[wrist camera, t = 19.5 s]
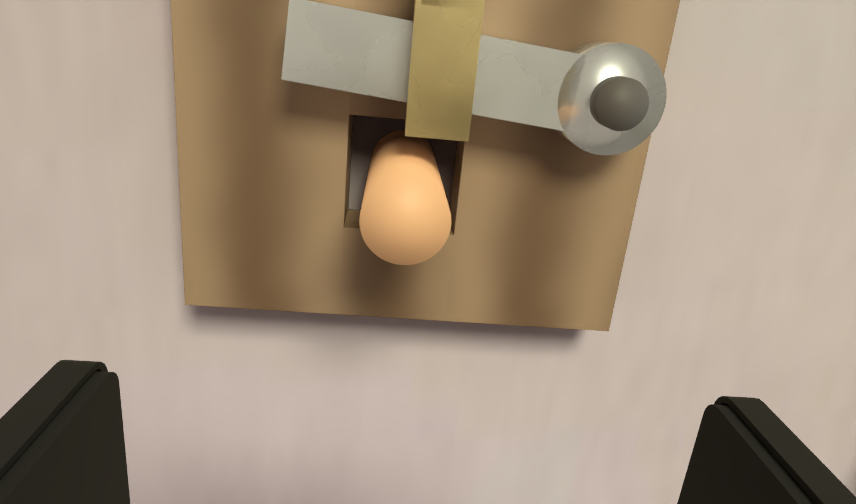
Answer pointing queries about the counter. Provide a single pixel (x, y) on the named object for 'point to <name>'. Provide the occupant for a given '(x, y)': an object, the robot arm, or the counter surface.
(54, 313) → the counter surface
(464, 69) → the keeper
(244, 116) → the base plate
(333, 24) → the latch bar
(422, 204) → the lock pin
